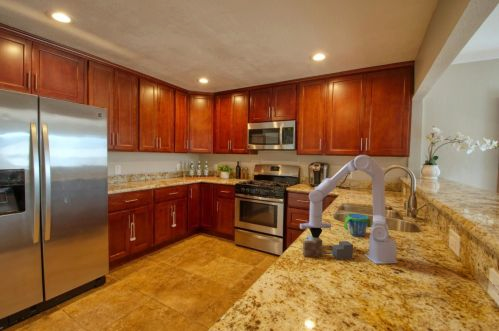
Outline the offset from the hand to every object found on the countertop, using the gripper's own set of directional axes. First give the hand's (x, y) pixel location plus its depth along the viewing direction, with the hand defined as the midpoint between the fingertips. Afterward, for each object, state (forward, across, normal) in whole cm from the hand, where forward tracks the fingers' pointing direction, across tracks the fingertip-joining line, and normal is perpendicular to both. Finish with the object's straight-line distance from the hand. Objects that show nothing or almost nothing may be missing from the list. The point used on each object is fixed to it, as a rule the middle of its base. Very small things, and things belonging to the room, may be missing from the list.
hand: (315, 243), depth 106 cm
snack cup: (+1, -29, -12) cm, 31 cm away
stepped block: (+1, -7, +13) cm, 14 cm away
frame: (+1, -1, +10) cm, 10 cm away
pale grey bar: (+1, +2, +2) cm, 3 cm away
